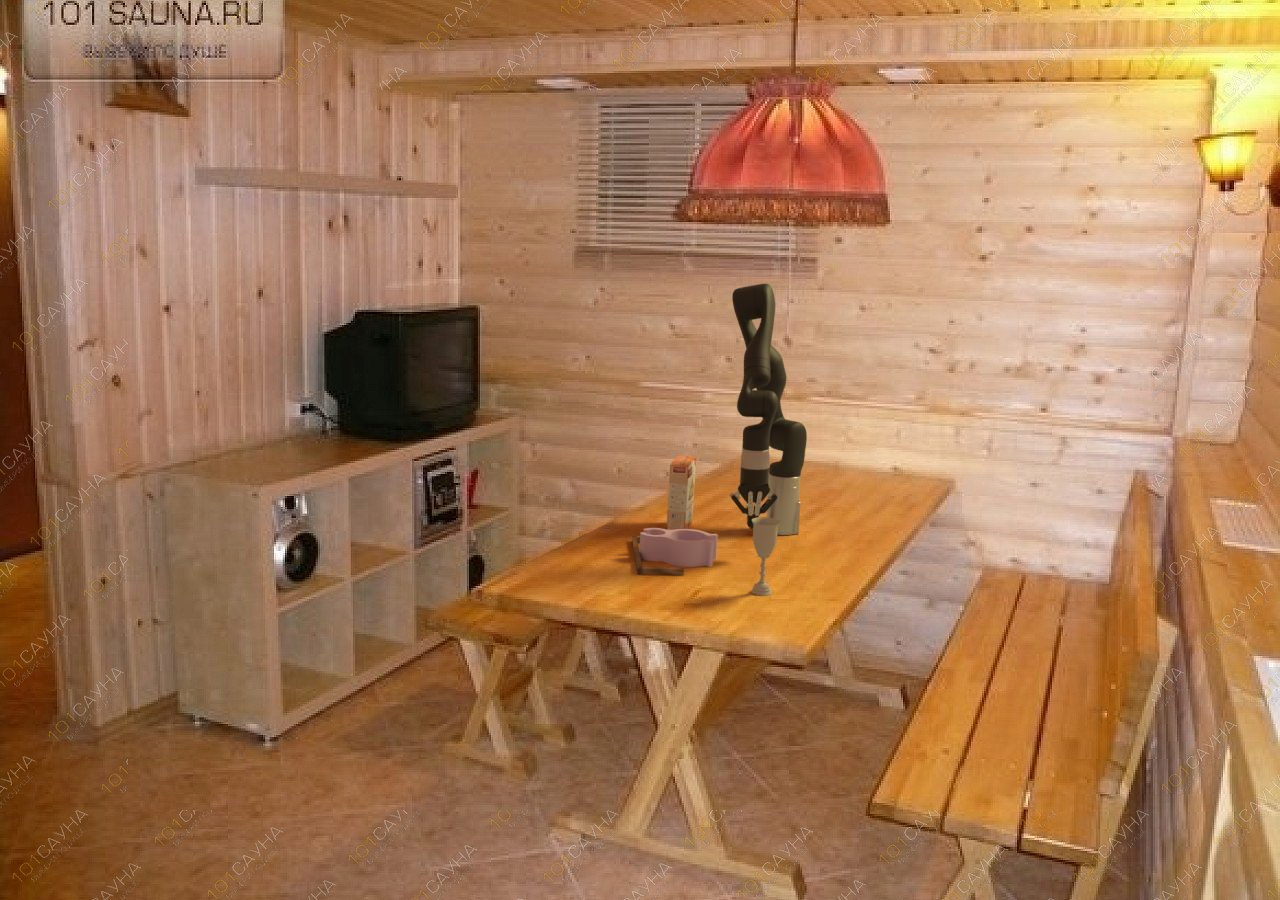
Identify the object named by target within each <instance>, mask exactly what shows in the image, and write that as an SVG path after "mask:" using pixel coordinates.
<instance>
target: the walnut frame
mask: <svg viewBox="0 0 1280 900" xmlns="http://www.w3.org/2000/svg"><path fill="white" fill-rule="evenodd" d="M631 537H632V538H631V541H632V542H631V544H632V547H633V548H632V549H633V553H634V559H635V561H634V562H635V565H636V572H637V575H644V576H645V575H649V576H650V575H656V576H660V575H661V576H684V572H685V569H684V568H685V567H648V566H647V567H643V563H642V559H641V557H640V545H639V544H640V535H637V536H636V535H633V536H631Z"/></svg>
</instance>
